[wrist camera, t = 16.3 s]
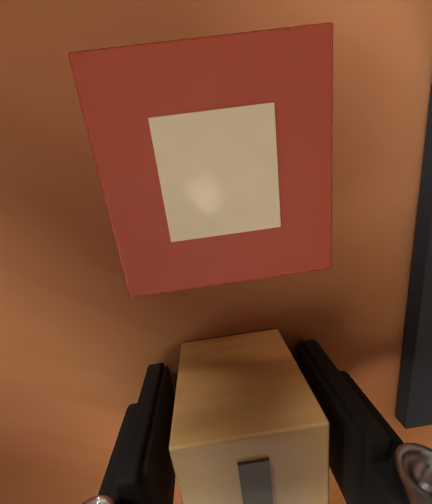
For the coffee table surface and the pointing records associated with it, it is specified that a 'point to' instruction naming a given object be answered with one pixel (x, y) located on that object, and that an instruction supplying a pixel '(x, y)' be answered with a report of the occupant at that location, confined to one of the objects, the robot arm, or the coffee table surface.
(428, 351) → the word board
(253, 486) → the maple letter block
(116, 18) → the coffee table surface
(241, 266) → the brick-red letter block
